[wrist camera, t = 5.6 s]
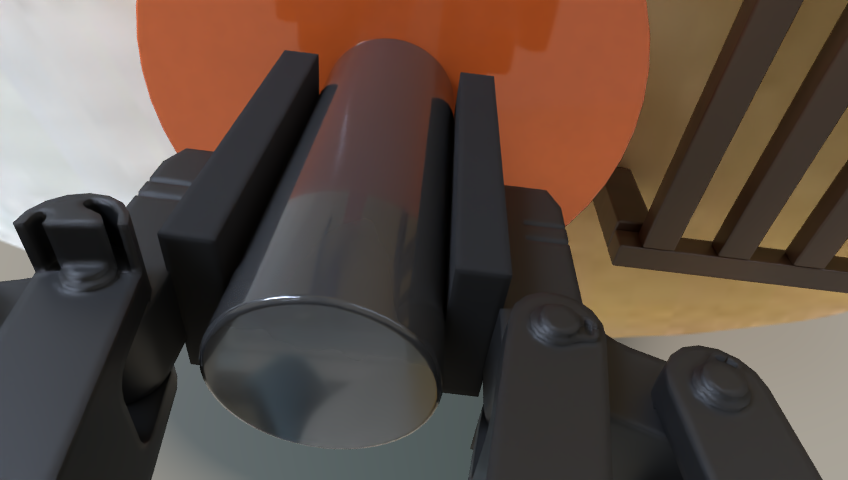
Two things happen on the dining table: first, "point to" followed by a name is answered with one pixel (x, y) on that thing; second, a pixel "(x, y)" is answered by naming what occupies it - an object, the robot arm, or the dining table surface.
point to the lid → (379, 180)
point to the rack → (769, 181)
